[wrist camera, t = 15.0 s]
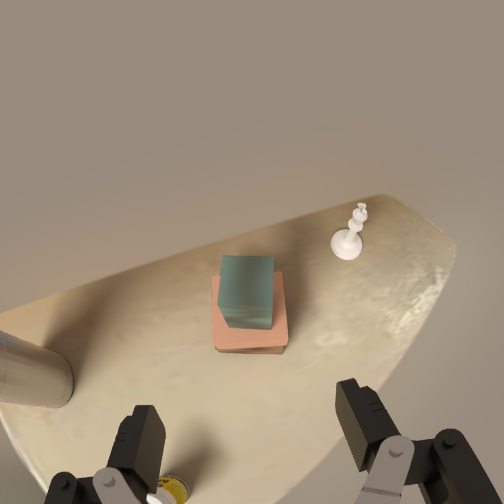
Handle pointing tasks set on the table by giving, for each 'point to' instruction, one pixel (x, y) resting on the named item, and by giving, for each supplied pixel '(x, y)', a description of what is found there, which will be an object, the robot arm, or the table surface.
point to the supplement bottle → (169, 491)
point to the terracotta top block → (251, 337)
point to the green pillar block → (246, 291)
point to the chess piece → (350, 236)
